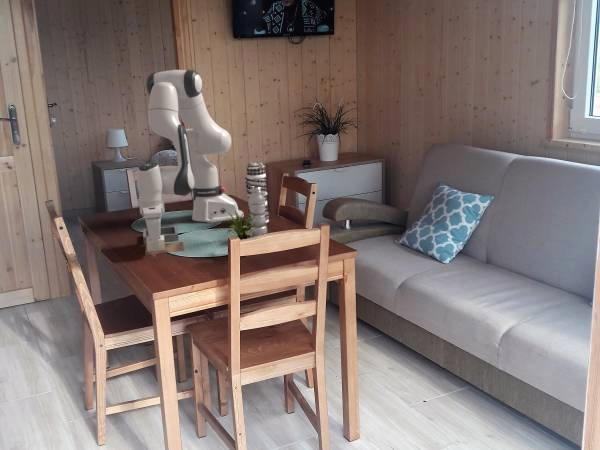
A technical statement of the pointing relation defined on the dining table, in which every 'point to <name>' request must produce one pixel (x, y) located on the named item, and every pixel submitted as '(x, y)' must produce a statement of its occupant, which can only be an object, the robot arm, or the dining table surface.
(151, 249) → the cream collar
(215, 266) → the dining table surface
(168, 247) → the walnut board
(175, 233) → the charcoal tray
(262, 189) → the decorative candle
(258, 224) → the plastic bottle
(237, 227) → the house plant
